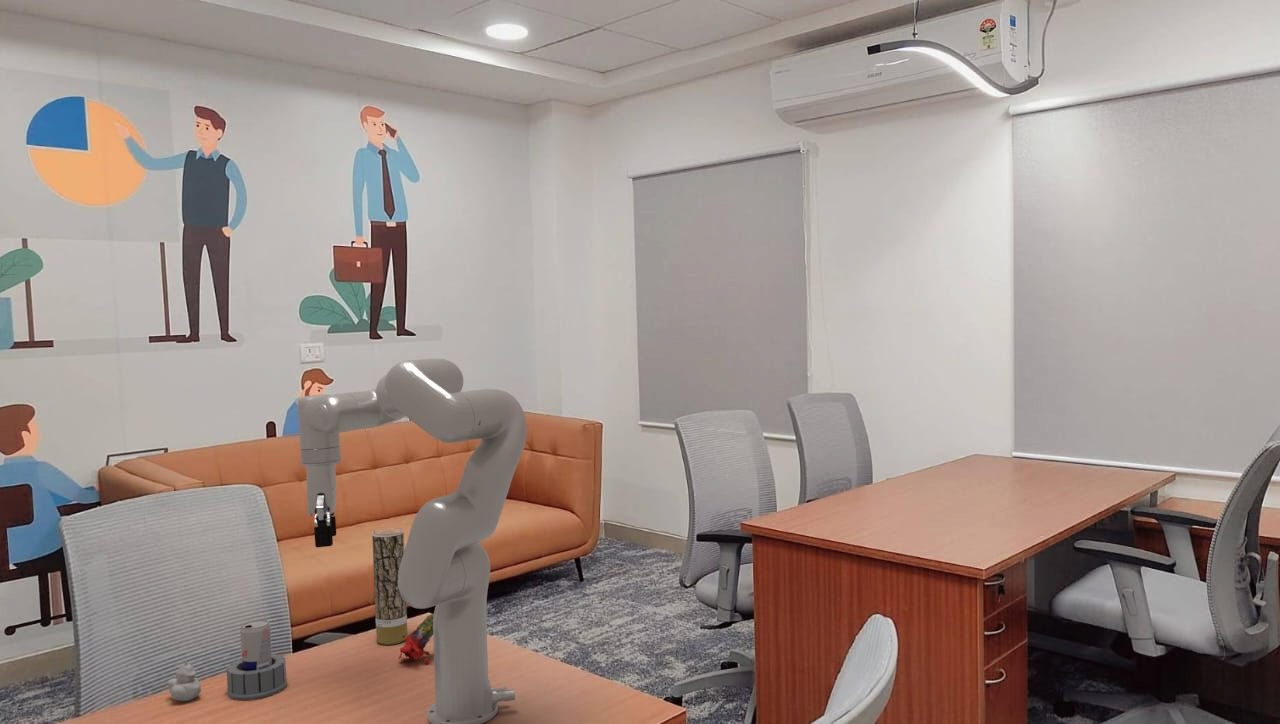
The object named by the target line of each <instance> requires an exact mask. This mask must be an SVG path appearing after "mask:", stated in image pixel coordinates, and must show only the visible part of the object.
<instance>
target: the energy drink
mask: <svg viewBox="0 0 1280 724" xmlns="http://www.w3.org/2000/svg"><path fill="white" fill-rule="evenodd" d="M271 637H272V636H271V625H270V622H269V620H268V619H267V620H266V619H256V620H251V621H250V620H249V621H247V622H245V623H242V625H241V628H240V643H241V644H240V647H241V659H242V671H253V670H260V669H263V668H267V667H269V666H271V665H272V655H271V654H272V638H271Z"/></svg>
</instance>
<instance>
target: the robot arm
mask: <svg viewBox="0 0 1280 724" xmlns="http://www.w3.org/2000/svg"><path fill="white" fill-rule="evenodd" d="M463 386H464V376H463V372H462V371H461V368H459V367H458V366H457V365H456V364H455V363H454V362H452V361H450V360H447V359H443V358H426V359H412V360H411V359H410V360H403V361H400V362H398V363H396V364H395V365H393V366H392V367H391V368H390V369H389V370H388V372H387V374H385V375H384V376H382V377H381V378H380V379H379V380H378V382H377V384H376V388H375V389H370V390H365V391H354V392H352V391H351V392H346V393H345V392H344V393H335V394H312V395H305V396H302V397H300V398H299V399H298V401H297V416H298V417H297V419H298V435H299V436H298V437H299V446H300V448H299V451H300V465H301V467H306V475H305V476H306V499H307V500H306V503H307V505H306V506H307V515H308V516H309V517H312V516H313V515H314V527H313V530H314V533H313V534H314V544H315V545H314V546H315V548H324V547H332V546H334V544H333V541H334V540H333V538H334V537H336V536H337V524H336V523H337V521H336V519H337V518H336V516H335V510H336V507H337V473H336V472H337V471H336V464H339V463H341V462H342V457H341V456H342V455H341V441H340V440H341V439H340V433H346V432H351V431H358V430H365V429H373V428H377V427H380V426H384V425H387V424H391V423H393V422H397V421H399V420H402V419H404V418H405V417H406V418H407V419H409V420H410V421H412V422H413V423H414V424H415V425H417V427H419V428H420V429H422V430H423V431H424V432H425V433H427V434H428V435H429V436H431V437H432V438H434V439H435V440H438V441H440V442H442V443H445V444H459V443H464V442H469V441H475V440H480V439H481V440H480V442H479V444H478V445H477V447H476V448H475V450H474V451H473V452H472V453H471V455H470V456H469V458H468V459H467V462H466V464H465V465H464V469H463V472H462V476H461V479H460V481H459V484H458V486H457V488H456V489H455V490H454V491H453V492H451V493H449V494H445V495H442V496H439V497H438V496H437V497H436V498H432V499H431V500H429V501H427V502H425V503H424V504H423V505H422V506H421V508H420V509H419V510H418V512H417V513H416V514H415V517H414V519H413V522H412V525H411V528H410V531H409V535H408V537H407V541H406V544H405V546H404V554H403V557H402V560H401V564H400V568H399V573H398V587H399V591H400V594H401V596H402V598H403V600H404V601H405V602H406V605H408V606H409V607H412V608H415V609H418V610H419V609H429V608H432V607H434V606H435V607H434V612H433V614H434V618H433V635H432V636H433V661H434V663H433V664H434V666H433V667H434V686H435V687H434V688H435V689H434V690H435V693H434V694H435V702H434V703H432V704H431V705H430V707H428V708H427V719H428V722H429V723H431V724H484V723H487V722H488V721H490V720H492V719H493V718H494V717H495V716H496V715H497V713H498V711H499V703H500V702H511V701H512V702H513V701H515V699H516V694H515V689H513V688H512V689H507V688H508V687H507V686H506V685H505V686H499V687H494V686H491V681H490V679H489V657H488V656H489V655H488V624H487V605H488V604H487V602H488V601H487V599H488V598H487V597H488V589H489V585H490V577H491V561H490V558H489V554H488V552H487V550H486V549H485V547H483V545H482V544H480V543H481V542H483V541H485V540H486V541H487V539H488V538H490V537H491V536H492V535H493V534H494V533H495V531H496V530H497V527H498V523H499V521H500V519H501V515H502V512H503V509H504V506H505V502H506V499H507V497H508V494H509V490H510V487H511V483H512V481H513V477H514V475H515V472H516V469H517V466H518V464H519V462H520V460H521V457H522V455H523V452H524V448H525V446H526V441H527V435H528V434H527V433H528V430H527V429H528V425H527V420H526V416H525V412H524V410H523V408H522V406H521V403H520V402H519V401H518V400H517V398H515V396H514V395H512V394H511V393H509V392H506V391H504V390H502V389H493V388H485V389H484V388H483V389H474V390H468V391H462V389H463Z"/></svg>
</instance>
